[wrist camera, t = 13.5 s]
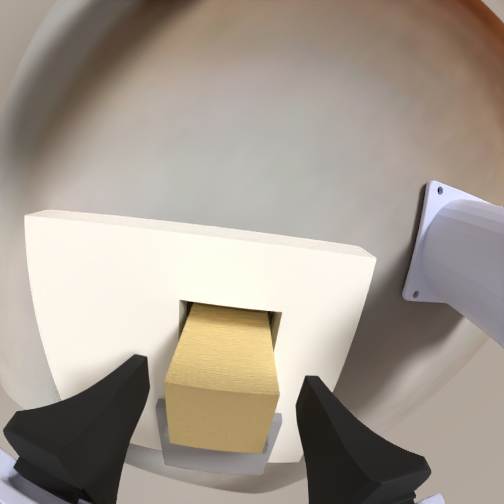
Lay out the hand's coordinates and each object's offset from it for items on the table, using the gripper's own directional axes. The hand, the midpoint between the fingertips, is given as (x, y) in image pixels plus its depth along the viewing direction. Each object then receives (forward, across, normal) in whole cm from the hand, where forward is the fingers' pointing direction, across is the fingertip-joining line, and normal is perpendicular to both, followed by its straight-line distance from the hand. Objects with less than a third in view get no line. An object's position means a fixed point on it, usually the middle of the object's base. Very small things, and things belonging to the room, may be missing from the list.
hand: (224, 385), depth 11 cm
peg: (+6, 0, 0) cm, 6 cm away
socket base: (+6, +3, +3) cm, 7 cm away
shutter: (+3, 0, +9) cm, 9 cm away
